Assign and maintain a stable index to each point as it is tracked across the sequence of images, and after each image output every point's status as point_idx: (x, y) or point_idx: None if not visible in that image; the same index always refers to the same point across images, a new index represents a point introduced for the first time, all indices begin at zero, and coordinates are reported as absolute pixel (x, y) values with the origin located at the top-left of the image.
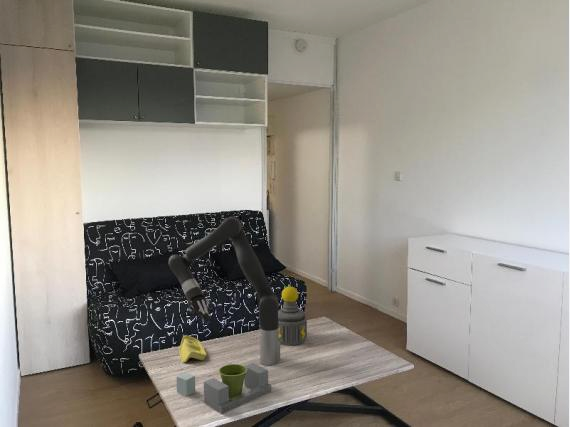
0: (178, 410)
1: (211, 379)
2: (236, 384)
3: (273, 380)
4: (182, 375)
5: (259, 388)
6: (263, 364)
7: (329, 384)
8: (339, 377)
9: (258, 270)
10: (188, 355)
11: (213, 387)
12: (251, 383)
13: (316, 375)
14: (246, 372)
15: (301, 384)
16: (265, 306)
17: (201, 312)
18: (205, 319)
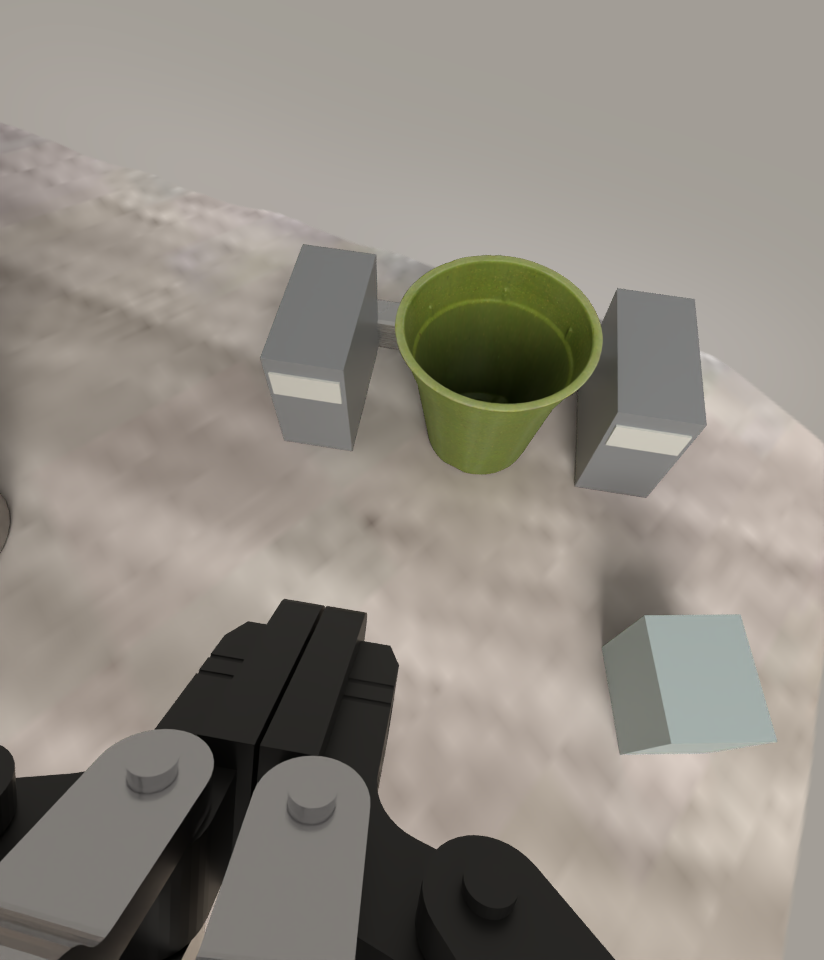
0: (804, 551)
1: (644, 408)
2: (518, 327)
3: (202, 373)
4: (724, 710)
5: (389, 311)
6: (5, 540)
7: (120, 185)
8: (28, 182)
9: None
10: None
11: (697, 336)
12: (363, 373)
13: (45, 253)
14: (350, 375)
15: (177, 260)
16: None
17: (358, 906)
18: (382, 669)
